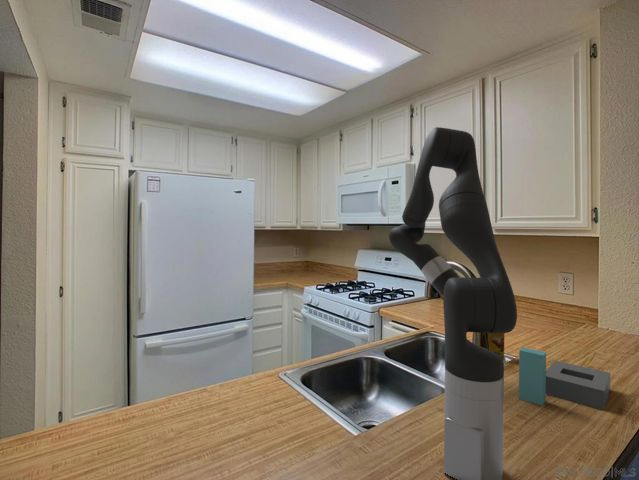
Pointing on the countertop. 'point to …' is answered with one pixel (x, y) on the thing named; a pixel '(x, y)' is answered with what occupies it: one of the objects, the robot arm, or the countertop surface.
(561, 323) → the countertop surface
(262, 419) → the countertop surface
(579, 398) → the gray slotted block
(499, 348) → the condiment
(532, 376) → the teal rectangular block
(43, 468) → the countertop surface
